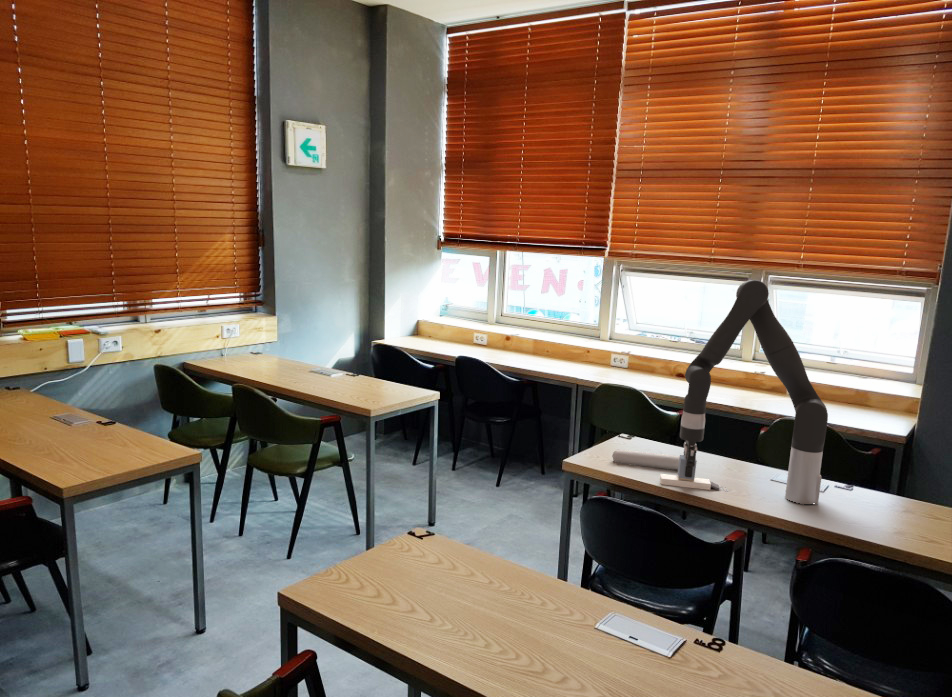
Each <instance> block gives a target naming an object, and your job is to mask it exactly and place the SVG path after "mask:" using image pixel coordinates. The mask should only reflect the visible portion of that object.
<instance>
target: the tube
mask: <svg viewBox="0 0 952 697" xmlns="http://www.w3.org/2000/svg"><path fill="white" fill-rule="evenodd" d="M679 458H680V455H671V454H662V453H652V452H644V451H643V452H642V451H635V450H634V451H633V450H625V449H616V450H615V451H613V452H612V461H613V462H614V463H615V462H616V464H621V463H622V464H623V465H629V464H631V465H630V466H638V465H639V466H640V467H646V468H647V467H648V468H656V469H662V468H663V469H662V470H670V469H671V470H672V471H678V466H679ZM639 466H638V467H639Z"/></svg>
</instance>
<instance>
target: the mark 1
mask: <svg viewBox="0 0 952 697" xmlns="http://www.w3.org/2000/svg"><path fill="white" fill-rule="evenodd" d="M710 483H711V488H712V489H715V490H717V491H719V490H720V488H719V487H720V486H719V484H717V483H714V482H713V481H710Z"/></svg>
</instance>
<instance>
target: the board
mask: <svg viewBox="0 0 952 697" xmlns="http://www.w3.org/2000/svg"><path fill="white" fill-rule="evenodd" d="M659 482H660V485H662V486H663V485H666V486H674V487H681V488H693V489H698V490H699V489H700V490H709V491H710V490H711V488H712V487H711V483H710V479H709V478H702V477H695V478H694V481H688V480H680V479H678V475H676V474H675V475H674V474H664V473H660V474H659Z"/></svg>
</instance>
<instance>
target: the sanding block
mask: <svg viewBox="0 0 952 697" xmlns="http://www.w3.org/2000/svg"><path fill="white" fill-rule="evenodd" d="M679 456H680V458H679V466H678V470H677V475H676V476H678V479H680V480H688V481H694V478H696V477H695V476H696V468H697V458H696V459H695V466H694V467H693V471H692V477H691V478H690V477H685V469H686V465H685V464H686V459H685V455H684V454H679ZM689 462H690V463H692V460H689Z"/></svg>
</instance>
